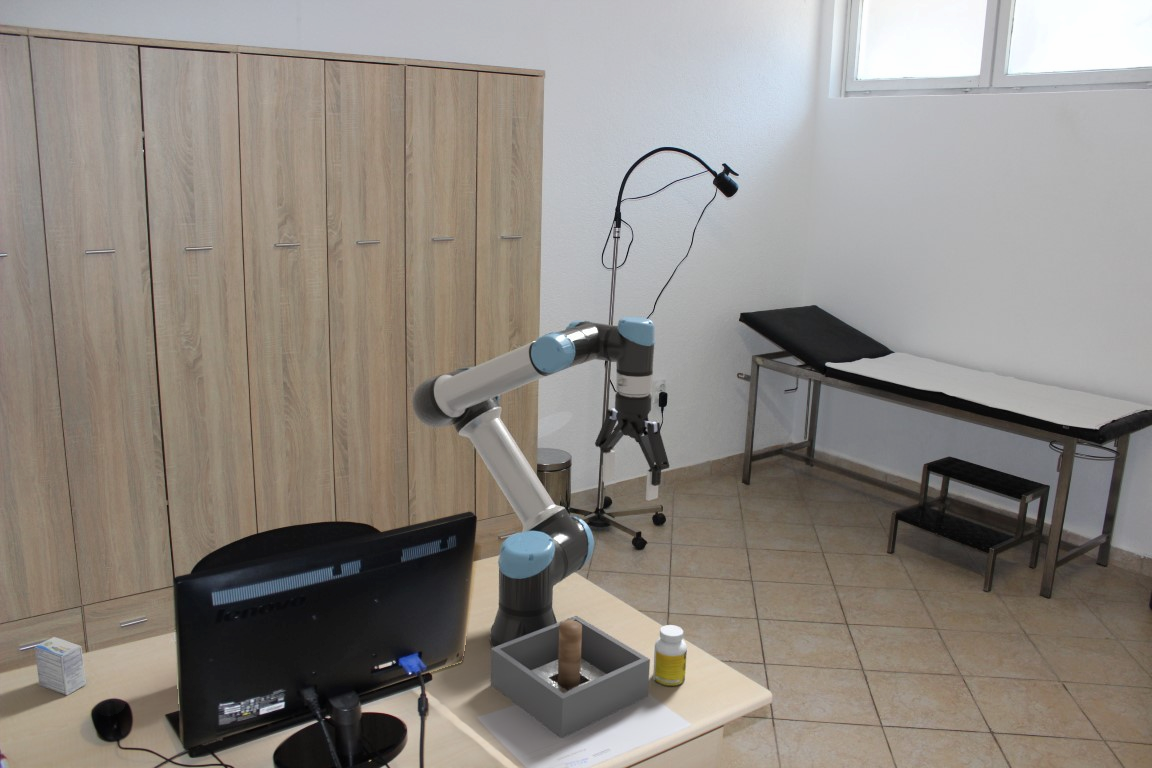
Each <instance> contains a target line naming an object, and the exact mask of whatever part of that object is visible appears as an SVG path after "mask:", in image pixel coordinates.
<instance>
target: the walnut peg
mask: <svg viewBox="0 0 1152 768" xmlns="http://www.w3.org/2000/svg"><path fill="white" fill-rule="evenodd" d="M562 621H563V622H561V621H560V622H561V623H560V625H559V655H558V684H559V685H560V686H562V687H563V688H564V689H566V690H567V691H568V690H570V689H572V688H574V687H577V686H579V685H580V670H581V642H582V625H581V623H579V622H577V621H573V620H568V621H564V620H562Z"/></svg>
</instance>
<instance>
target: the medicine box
mask: <svg viewBox="0 0 1152 768" xmlns="http://www.w3.org/2000/svg"><path fill="white" fill-rule="evenodd" d="M34 653H35V661H36V668H37V676H38V684H39V686H40V687H44V688H47V689H49V690H52V691H55V692H57V693H60V694H63V695H66V696H68V695H70V694H72V693H74V692H76V691H77V690H79V689H81V688H83V687H85V686H86V685H87V680H86V673H85V665H84V658H83V657H84V656H83V650H82V646H81V645H79V644H76V643H73V642H70V641H68V640H65V639H62V638H58V637H56V636H53V637H50V638H49V639H46V640H44V641H43V642H41V643H38V644H37V645H36V646H34Z"/></svg>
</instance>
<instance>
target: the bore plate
mask: <svg viewBox="0 0 1152 768" xmlns="http://www.w3.org/2000/svg"><path fill="white" fill-rule="evenodd" d="M531 671H532V672H533V673H535V674H536V675H538V676H539V677H541V678H542V679H544V680H545V681H546V682H548V683H549V684H551V685H552V686H554V687H555V688H556V689H558V690H559V691H561V692H562V693H566V692H568V691H570V690H573V689H575V688H577V687H579V686H581V685H584V684H586V683H588V682H590V681H593V680H595V679H597V678H599V677H602V676H604V675H606V673H604V672H602V671H601V670H599V669H598V668H596V667H595V666H593V665H591V664H590V663H588V662H587V661H585V660H584V659H582V658H581V670H580V685H579V686H577V687H574V688H572V689H570V690H568V691H567V690H566V689H564V688H563V687H562V686H560V685H559V684H558V660H555V661H553V662H550V663H548V664H546V665H543V666H541V667H538V668H536V669H534V670H531Z"/></svg>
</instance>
